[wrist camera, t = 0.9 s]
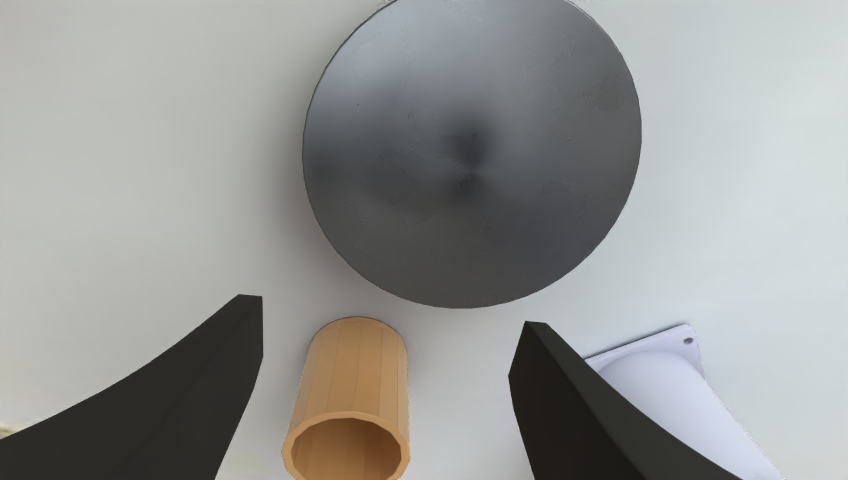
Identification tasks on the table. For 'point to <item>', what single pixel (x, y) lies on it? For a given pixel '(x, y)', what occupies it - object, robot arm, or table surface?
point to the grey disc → (471, 147)
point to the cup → (351, 405)
